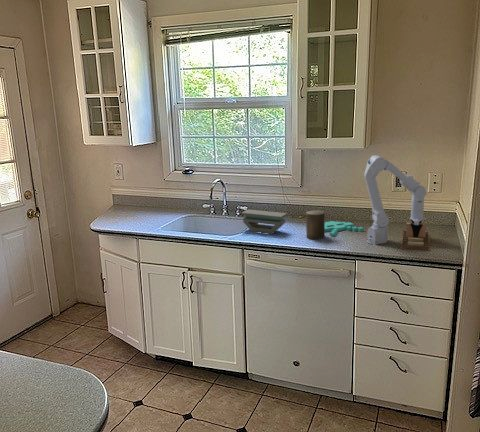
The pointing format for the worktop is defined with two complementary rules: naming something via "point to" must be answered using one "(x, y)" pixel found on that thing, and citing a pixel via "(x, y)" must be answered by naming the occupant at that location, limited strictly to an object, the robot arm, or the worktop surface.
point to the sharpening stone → (263, 220)
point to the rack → (415, 247)
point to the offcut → (415, 239)
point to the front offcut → (416, 243)
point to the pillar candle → (315, 224)
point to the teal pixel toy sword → (340, 227)
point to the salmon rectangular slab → (421, 234)
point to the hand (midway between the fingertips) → (415, 234)
